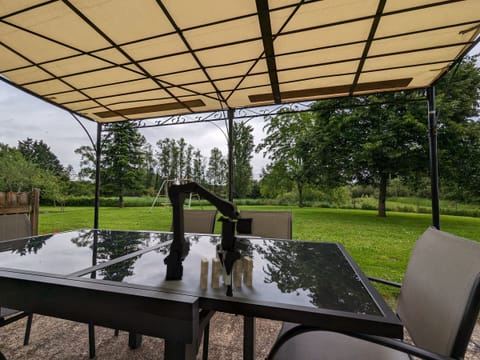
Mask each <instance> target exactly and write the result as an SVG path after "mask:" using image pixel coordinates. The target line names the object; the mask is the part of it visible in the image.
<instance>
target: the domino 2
mask: <svg viewBox="0 0 480 360" xmlns="http://www.w3.org/2000/svg"><path fill="white" fill-rule="evenodd" d="M211 261H212V262H211V277H210V284H211V286H212V287H213V289H214V290H215V289H219V288H220V272H221V270H220V260H219V259H218V258H216V257H212V259H211Z"/></svg>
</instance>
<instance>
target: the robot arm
mask: <svg viewBox="0 0 480 360" xmlns="http://www.w3.org/2000/svg"><path fill="white" fill-rule="evenodd" d="M193 193H195V194H196V195H198V196H200V197H201V198H202V199H204V200H205V201H207V202H208V203H210V204H211V205H212V206H214V207H215V208H216V210H217V211H218V212H219V213H220V214H221V215H220V217H219V218H218V219H217V220H216V222H218V223H221V229H220V230H221V231H220V235H219V238H220V243H217V244H216V245H215V252H216V251H218V250H219V252H217V254H218V256H219V259H220V262H221V265H222V268H223V263H224V267H225V270H226V274H227V276H229V275H230V273H231V274H232V271H233V264H234V262H235V261H236V260H240V259H241V260H242V253H241V252H240V251H243V252H244V253H247V252H248V249H249V247H250V245H249V244H247V243H246V242H244V239H242V238H240V237H239V238H238V237H237V236H236V232H237V233H238V235H242V236H243V235H244V236H254V233H255V224H254V217H243V216H241V214H240V213H239V211H238V206H237V204H236V203H234V202H231V201H229V200H227V199H225V198H222V197H220V196H219V195H217V194H216V193H214V192H212V191H211V190H209V189H207V188H206V187H204V185H201V183H199V182H198V181H197V182H196V181H191V182H186V183H180V184H176V183H173V184H171V185H170V186H169V187H168V189H167V195H168V200H169V202H170V204H171V207H172V208H171V209H172V210H171V211H172V238H173V239H172V241H171V244H170V246H169V252H168V254H167V255H166V256H165V258H163V261H162V262H163V264H164V266H166V270H165V271H166V272H165V277H164V278H165V281H179V280H182V277H184V265H183V262H184V261H185V260H186V258H187V257H188V255H189V254H190V253H189V252H190V251H191V247H190V244H191V242H190V241H187V239H186V237H185V215H184V214H185V211H184V210H185V209H184V207H185V206H184V204H185V202H186V199H187V195H189V194H193ZM239 250H240V251H239Z"/></svg>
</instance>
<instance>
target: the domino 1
mask: <svg viewBox="0 0 480 360" xmlns="http://www.w3.org/2000/svg"><path fill="white" fill-rule="evenodd" d="M200 260H201V261H200V275H199V277H200V278H199V286H200V288H201V290H208V284H209V260H208V259H207V257H201V259H200Z"/></svg>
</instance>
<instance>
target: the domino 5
mask: <svg viewBox="0 0 480 360" xmlns="http://www.w3.org/2000/svg"><path fill="white" fill-rule="evenodd" d="M253 268H254V259H252V258H251V257H249V256H243V262H242V282H243V283H244V284H245V286H247V287H253V276H254V275H253V273H254V270H253Z"/></svg>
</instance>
